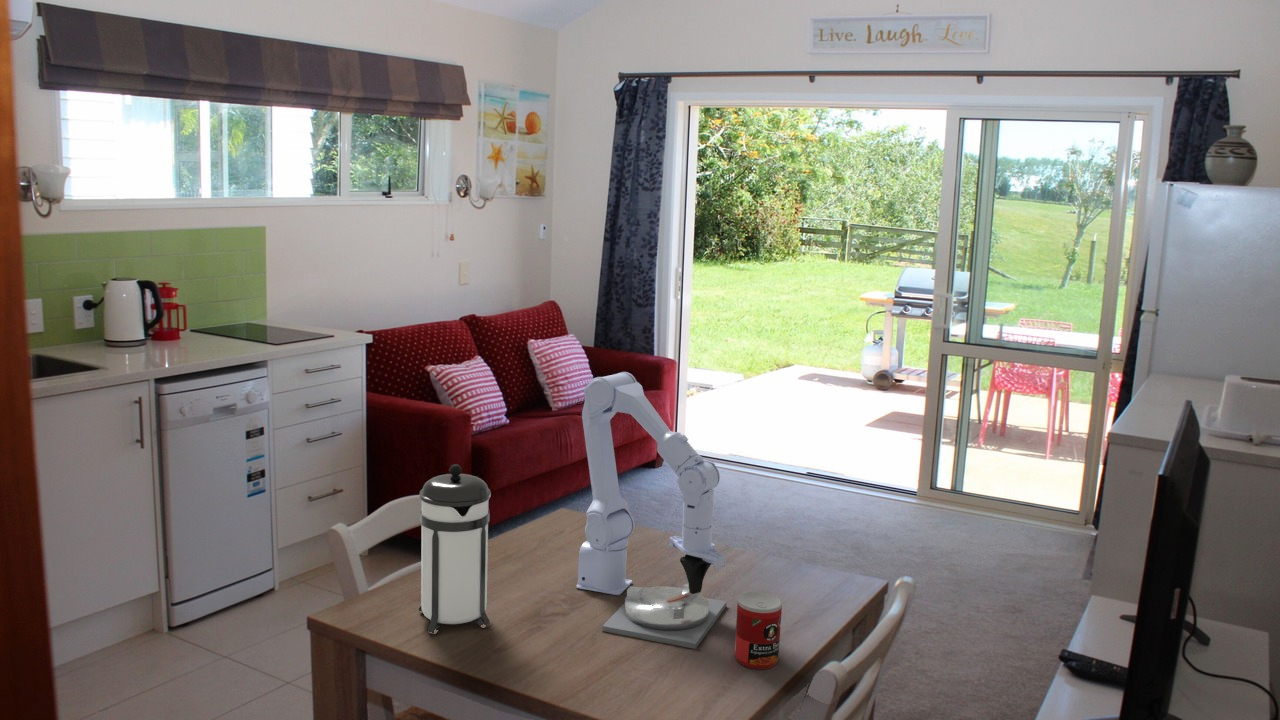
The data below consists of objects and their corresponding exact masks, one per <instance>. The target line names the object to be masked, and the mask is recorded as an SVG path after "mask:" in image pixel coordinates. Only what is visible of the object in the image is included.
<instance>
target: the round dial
mask: <svg viewBox="0 0 1280 720" xmlns="http://www.w3.org/2000/svg"><path fill="white" fill-rule="evenodd" d="M640 587H641V586H633V585H629V586H628V587H627V588H626V597H625V599H624V600H625V601H624V603H625V614H626V616H627V617H628V618H629V619H630V620H631V621H633V622H635V623H637V624H639V625H642V626H645V627H649V628H654V629H661V630H682V629H688V628H693V627H696V626H698V625H701V624H702V623H704V622H705V621H706V620H707V619H708V615H709V602H708V601H707V599H706V598H707V597H704V596H703V594H700V593H696V594H691V593H690V592H689V583H688V582H687V583H685V584H682V586H681V587H675V586H649V587H647V586H646V588H640Z"/></svg>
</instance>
